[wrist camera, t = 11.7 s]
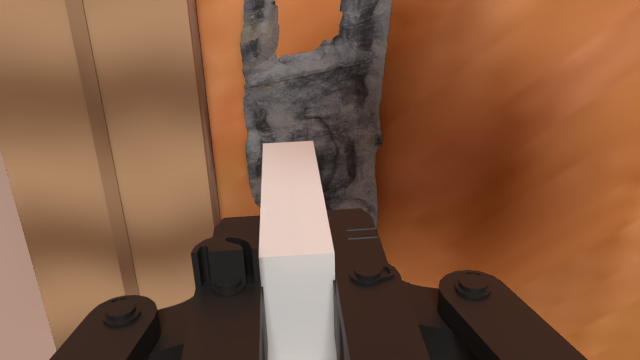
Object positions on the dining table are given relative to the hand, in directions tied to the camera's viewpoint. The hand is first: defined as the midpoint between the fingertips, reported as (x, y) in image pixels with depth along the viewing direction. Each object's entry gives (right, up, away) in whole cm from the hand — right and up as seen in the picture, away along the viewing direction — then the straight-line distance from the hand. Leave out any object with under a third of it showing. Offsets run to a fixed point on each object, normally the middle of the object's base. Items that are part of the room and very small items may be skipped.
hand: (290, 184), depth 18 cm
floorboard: (-8, +4, +7) cm, 11 cm away
